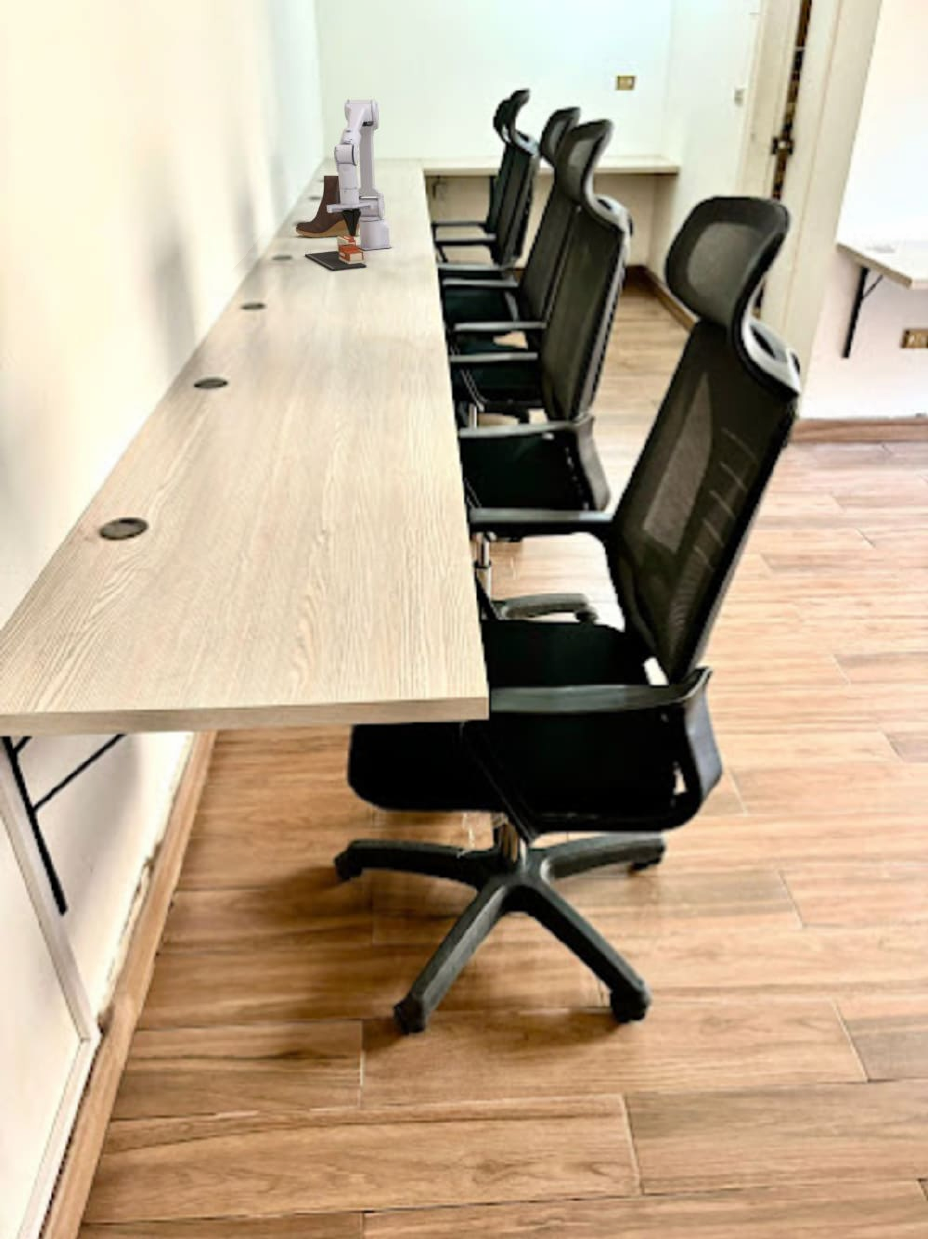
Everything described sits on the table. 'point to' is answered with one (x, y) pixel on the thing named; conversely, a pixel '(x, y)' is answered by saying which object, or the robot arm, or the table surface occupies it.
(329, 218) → the boot
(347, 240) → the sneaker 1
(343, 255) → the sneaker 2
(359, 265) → the shoe mat
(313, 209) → the table surface
